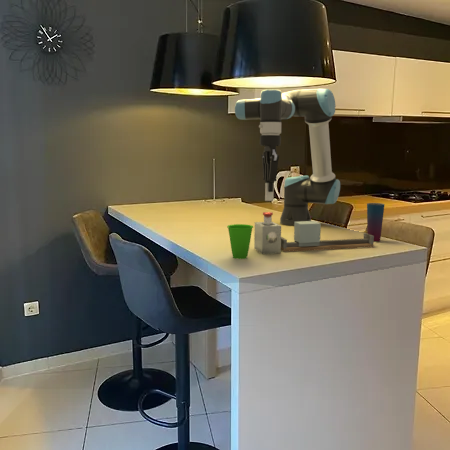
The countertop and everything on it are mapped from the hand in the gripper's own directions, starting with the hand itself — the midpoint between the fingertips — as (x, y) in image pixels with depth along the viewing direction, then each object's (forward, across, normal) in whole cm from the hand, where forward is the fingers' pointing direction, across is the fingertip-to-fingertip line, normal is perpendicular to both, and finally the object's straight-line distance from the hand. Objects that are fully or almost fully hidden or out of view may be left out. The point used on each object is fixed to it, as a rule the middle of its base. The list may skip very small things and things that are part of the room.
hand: (269, 200), depth 181 cm
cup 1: (+19, +8, -13) cm, 24 cm away
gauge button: (+12, 0, 0) cm, 12 cm away
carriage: (+17, 0, +15) cm, 23 cm away
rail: (+19, 0, +23) cm, 30 cm away
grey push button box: (+19, 0, 0) cm, 19 cm away
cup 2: (+19, -9, +48) cm, 52 cm away
